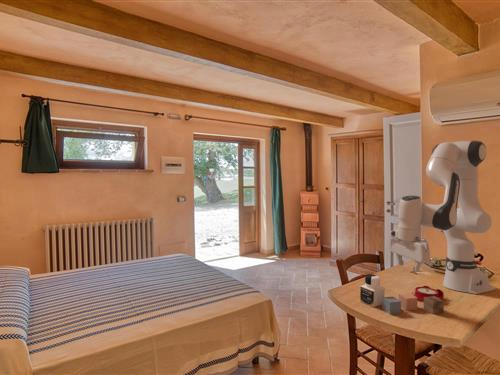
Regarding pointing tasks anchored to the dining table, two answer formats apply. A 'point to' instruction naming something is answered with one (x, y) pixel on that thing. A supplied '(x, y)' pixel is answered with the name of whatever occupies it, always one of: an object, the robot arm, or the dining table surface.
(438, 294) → the alarm clock
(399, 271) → the dining table surface
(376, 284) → the medicine bottle
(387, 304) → the slate-grey block
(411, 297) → the terracotta block
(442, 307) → the walnut block
